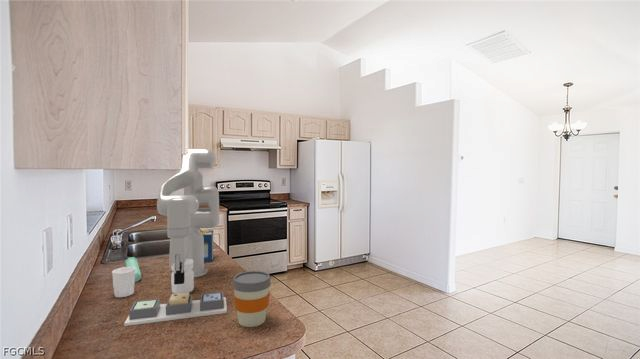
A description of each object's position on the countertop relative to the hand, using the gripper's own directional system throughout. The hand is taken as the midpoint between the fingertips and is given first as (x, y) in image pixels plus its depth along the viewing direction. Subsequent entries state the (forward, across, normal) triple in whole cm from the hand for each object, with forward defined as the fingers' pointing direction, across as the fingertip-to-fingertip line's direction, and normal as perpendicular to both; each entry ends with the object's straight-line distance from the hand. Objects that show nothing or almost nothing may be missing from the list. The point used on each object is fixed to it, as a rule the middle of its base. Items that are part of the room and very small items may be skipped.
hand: (179, 283), depth 113 cm
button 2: (+8, -1, 0) cm, 8 cm away
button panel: (+10, -1, 0) cm, 11 cm away
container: (+10, -48, -25) cm, 56 cm away
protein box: (+10, -65, +3) cm, 65 cm away
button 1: (+9, -1, -11) cm, 14 cm away
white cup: (+10, -24, -23) cm, 35 cm away
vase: (+10, -22, -1) cm, 24 cm away
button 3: (+9, -1, +11) cm, 14 cm away
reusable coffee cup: (+11, +13, +24) cm, 30 cm away
